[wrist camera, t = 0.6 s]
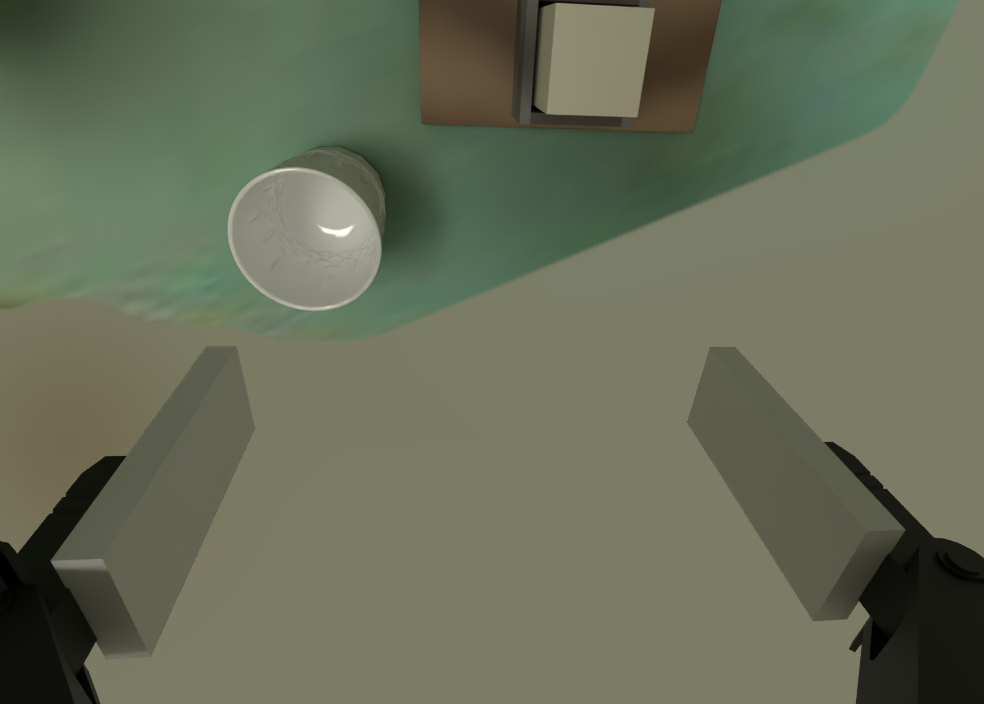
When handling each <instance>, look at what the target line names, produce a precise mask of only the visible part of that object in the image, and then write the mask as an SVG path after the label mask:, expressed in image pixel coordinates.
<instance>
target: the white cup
mask: <svg viewBox="0 0 984 704" xmlns="http://www.w3.org/2000/svg"><path fill="white" fill-rule="evenodd" d="M385 200H386V194H385V191H384V189H383V186H382V183H381V180H380V177H379V174H378V173H377V172H376V171H375V170H374V169H373V168H372V166H371V165H370V164H369V163H368V162H367V161H366V160H365V159H364V158H363V157H362V156H360V155H358V154H356V153H354V152H351V151H349V150H347V149H344V148H342V147H340V146H338V147H316V148H314V149H312V150H310V151H308V152H304V153H301V154H299V155H296V156H294V157H292V158H290V159H288V160H286V161H284V162H282V163H280V164H278V165H277V166H275V167H274V168H272V169H270V170H268V171H266V172H265V173H263V174H261V175H259V176H257V177H256V178H254V179H253V180H251V181H250V182H249V183H248V184H247V185H245V186H244V188H243V189H242V190H241V191H240V192H239V194H238V195H237V197H236V198H235V200H234V202H233V204H232V207H231V210H230V213H229V218H228V240H229V245H230V249H231V252H232V255H233V257H234V259H235V261H236V263H237V265H238V267H239V269H240V270H241V272H242V273H243V274H244V276H245V277H246V278H247V279H248V280H249V282H250V283H251V284H252V285H253V286H255V287H256V288H257V289H258V290H259V291H260V292H262V293H263V294H264V295H266V296H267V297H269V298H271V299H273V300H274V301H276V302H278V303H281V304H283V305H286V306H289V307H292V308H296V309H301V310H308V311H323V310H330V309H334V308H338V307H341V306H343V305H346V304H348V303H350V302H351V301H353V300H355V299H356V298H357V297H359V296H360V295H361V294H362V293H363V292H364V291H365V290H366V289H367V288H368V287H369V286H370V284H371V283H372V281H373V280H374V278H375V276H376V274H377V271H378V268H379V265H380V261H381V253H382V245H383V238H384V230H385V218H386V210H385Z"/></svg>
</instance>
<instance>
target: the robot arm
mask: <svg viewBox="0 0 984 704" xmlns="http://www.w3.org/2000/svg"><path fill="white" fill-rule="evenodd" d="M687 422H688V425H689V426H690V428H691V429H692V431H693V432H694V434H695V435H696V437H697V439H698V440H699V442H700V443H701V445H702V447H703V448H704V450H705V451H706V453H707V455H708V456H709V458H710V459H711V461H712V462H713V464H714V466H715V467H716V469H717V470H718V472H719V473H720V475H721V476H722V478H723V480H724V481H725V483H726V485H727V486H728V487H729V489H730V491H731V492H732V494H733V496H734V497H735V499H736V500H737V502H738V503H739V505H740V507H741V508H742V510H743V511H744V513H745V515H746V516H747V517H748V519H749V521H750V522H751V524H752V526H753V527H754V529H755V530H756V532H757V533H758V535H759V537H760V538H761V540H762V541H763V543H764V544H765V546H766V548H767V549H768V551H769V552H770V554H771V555H772V557H773V559H774V560H775V562H776V563H777V565H778V567H779V568H780V570H781V571H782V573H783V574H784V576H785V578H786V579H787V581H788V582H789V584H790V586H791V587H792V589H793V590H794V592H795V593H796V595H797V597H798V598H799V600H800V601H801V603H802V604H803V606H804V608H805V609H806V611H807V612H808V614H809V616H810V617H811V619H812V620H813V621H823V620H840V619H847V618H848V617H849V615H850V614H851V612H852V611H853V609H854V607H855V606H856V605H857V603H858V601H860V603H861V604H862V605H863V607H864V608H865V610H866V611H867V612H868V614H869V615H870V617H869V619H868V620H867V621H866V623H865V625H864V626H863V627H862V629H861V630H860V632H859V633H858V635H857V636H856V637H855V639H854V640H853V642H852V644H851V646H850V648H849V649H850V650H852V651H854V652H856V650H857V649H858V647H859V646H860V645H862V649H861V659H860V669H859V679H858V688H857V698H856V704H984V558H983V557H982V556H980V555H979V554H978V553H976V552H975V551H973V550H971V549H969V548H967V547H965V546H963V545H961V544H959V543H957V542H953V541H950V540H947V539H943V538H934V537H933V536H932V535H931V534H930V533H929V532H928V531H927V530H926V529H925V528H924V527H923V526H922V525H921V524H920V523H919V522H918V521H917V520H916V519H915V518H914V517H913V516H912V515H911V514H910V513H909V512H908V511H907V510H906V509H905V507H904V506H903V505H901V504H900V502H899V501H898V500H897V499H896V498H895V497H894V496H893V495H892V494H891V493H890V492H889V491H888V490H887V489H883V485H882V484H881V483H880V482H879V481H878V480H877V479H876V478H875V477H874V476H871V475H870V472H869V471H868V470H867V469H866V468H865V466H863V464H862V463H861V462H860V461H859V460H858V459H857V458H856V457H855V456H854V455H852V454H850V453H849V452H847V451H846V450H844V449H843V448H841V447H839V446H838V445H836V444H835V443H834V442H823V441H822V440H821V439H820V438H819V437H818V436H817V435H816V433H815V432H814V431H813V430H812V429H811V428H810V427H809V426H808V425H807V424H806V423H805V422H804V420H803V419H802V418H801V417H800V416H799V415H798V414H797V413H796V412H795V411H794V410H793V409H792V408H791V407H790V405H788V403H787V402H786V401H785V400H784V399H783V398H782V397H781V396H780V395H779V394H778V393H777V392H776V390H775V389H774V388H773V387H772V386H771V385H770V384H769V383H768V382H767V381H766V380H765V379H764V378H763V377H762V375H761V374H759V372H758V371H757V370H756V369H755V368H754V367H753V366H752V365H751V364H750V363H749V362H748V360H746V358H745V357H744V356H743V355H742V354H741V353H740V352H739V351H738V350H737V349H736V348H735V347H710V349H709V353H708V356H707V359H706V362H705V366H704V369H703V372H702V375H701V379H700V382H699V385H698V389H697V392H696V395H695V398H694V402H693V405H692V408H691V412H690V415H689V418H688V421H687ZM254 429H255V426H254V422H253V417H252V413H251V408H250V404H249V400H248V395H247V391H246V386H245V382H244V378H243V373H242V368H241V364H240V359H239V355H238V350H237V347H226V346H223V347H222V346H220V347H219V346H217V347H216V346H215V347H214V346H212V347H210V346H207V347H206V348H205V349H204V350H203V352H202V353H201V355H200V356H199V357H198V359H197V360H196V361H195V363H194V364H193V365H192V367H191V368H190V370H189V371H188V372H187V374H186V375H185V377H184V378H183V379H182V381H181V382H180V384H179V385H178V386H177V387H176V389H175V390H174V392H173V393H172V394H171V396H170V397H169V399H168V400H167V401H166V403H165V404H164V405H163V407H162V408H161V410H160V411H159V412H158V414H157V415H156V416H155V418H154V419H153V420H152V422H151V423H150V425H149V426H148V427H147V429H146V430H145V432H144V433H143V434H142V436H141V437H140V438H139V440H138V441H137V443H136V444H135V445H134V447H133V448H132V450H131V451H130V452H129V454H128V455H127V456H105V457H104V458H102V459H101V460H100V461H98V462H97V463H96V464H94V465H93V466H91V467H90V468H89V469H87V470H86V471H84V472H83V473H82V474H81V475H80V476H79V477H78V479H77V480H76V481H75V482H74V484H73V485H72V486H71V487H70V489H69V490H68V491H67V493H66V497H62V499H61V500H60V501H59V502H58V504H57V505H56V506H55V508H54V509H53V513H52V514H49V515H48V516H47V517H46V519H45V520H44V521H43V522H42V524H41V525H40V526H39V528H38V529H37V530H36V531H35V532H34V534H33V535H32V536H31V537H30V539H29V540H28V541H27V543H26V544H25V545H24V546H23V547H22V549H21V550H20V551H19V552H18V554H17V553H16V551H15V550H14V549H13V548H12V547H11V546H10V544H9V543H6V542H2V541H0V704H100V702H99V699H98V696H97V693H96V690H95V688H94V685H93V682H92V679H91V677H90V674H89V671H88V670H87V668H86V666H85V665H84V662H85V660H86V658H87V657H88V655H89V653H90V651H91V649H92V647H93V646H94V644H95V642H97V644H98V646H99V647H100V649H101V651H102V653H103V654H104V656H105V658H106V659H122V658H141V657H151V655H152V653H153V650H154V648H155V646H156V644H157V642H158V639H159V637H160V635H161V633H162V631H163V628H164V626H165V624H166V622H167V620H168V617H169V615H170V613H171V611H172V609H173V606H174V604H175V602H176V600H177V598H178V596H179V593H180V591H181V589H182V587H183V585H184V582H185V580H186V578H187V576H188V574H189V571H190V569H191V567H192V565H193V563H194V561H195V558H196V556H197V554H198V552H199V549H200V547H201V545H202V543H203V541H204V538H205V536H206V534H207V532H208V530H209V528H210V526H211V523H212V521H213V519H214V517H215V515H216V512H217V510H218V508H219V506H220V503H221V501H222V499H223V497H224V495H225V493H226V490H227V488H228V486H229V484H230V482H231V480H232V477H233V475H234V473H235V471H236V469H237V466H238V464H239V462H240V460H241V458H242V455H243V453H244V451H245V449H246V447H247V444H248V442H249V440H250V438H251V436H252V434H253V431H254Z"/></svg>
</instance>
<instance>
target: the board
mask: <svg viewBox="0 0 984 704" xmlns="http://www.w3.org/2000/svg"><path fill="white" fill-rule="evenodd" d="M721 1H722V0H419V25H420V68H421V111H422V124H432V125H463V126H495V127H526V128H558V129H589V130H621V131H652V132H684V133H693V132H694V127H695V123H696V118H697V113H698V109H699V104H700V99H701V95H702V90H703V85H704V81H705V76H706V71H707V67H708V62H709V57H710V53H711V48H712V43H713V39H714V34H715V29H716V25H717V20H718V15H719V11H720V6H721ZM554 3H567V4H585V5H604V6H622V7H640V8H655V12H654V18H653V24H652V30H651V36H650V42H649V49H648V55H647V61H646V67H645V73H644V79H643V85H642V92H641V98H640V104H639V110H638V116H637V117H612V116H583V115H554V114H546V113H544V112H543V111H541V110H540V109H538V108H537V107H535V106H534V105H532V97H533V83H534V69H535V55H536V41H537V27H538V13H539V8H541V7H545V6H548V5H551V4H554Z"/></svg>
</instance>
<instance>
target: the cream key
mask: <svg viewBox="0 0 984 704" xmlns="http://www.w3.org/2000/svg"><path fill="white" fill-rule="evenodd" d="M654 12H655V8H640V7H622V6H604V5H585V4H567V3H554V4H551V5H548V6H545V7H541V8H539V13H538V27H537V41H536V55H535V69H534V83H533V97H532V105H534V106H535V107H537V108H538V109H540V110H541V111H543V112H544V113H546V114H554V115H583V116H612V117H637V116H638V110H639V104H640V98H641V92H642V85H643V79H644V73H645V67H646V61H647V55H648V49H649V42H650V36H651V30H652V24H653V18H654Z"/></svg>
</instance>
